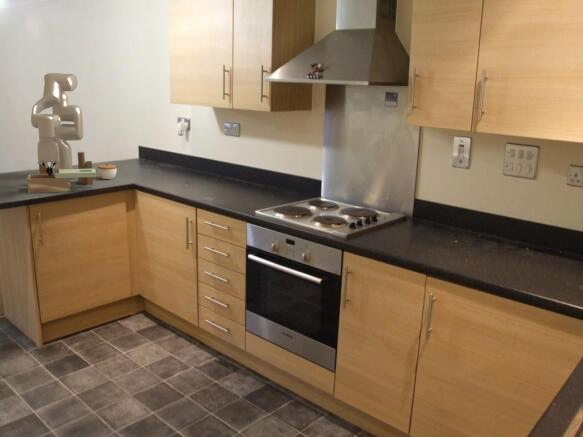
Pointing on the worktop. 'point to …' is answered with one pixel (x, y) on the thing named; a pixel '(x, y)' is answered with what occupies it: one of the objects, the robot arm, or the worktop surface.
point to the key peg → (42, 169)
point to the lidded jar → (107, 171)
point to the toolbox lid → (74, 173)
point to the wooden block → (84, 165)
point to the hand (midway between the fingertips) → (49, 174)
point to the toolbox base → (47, 183)
